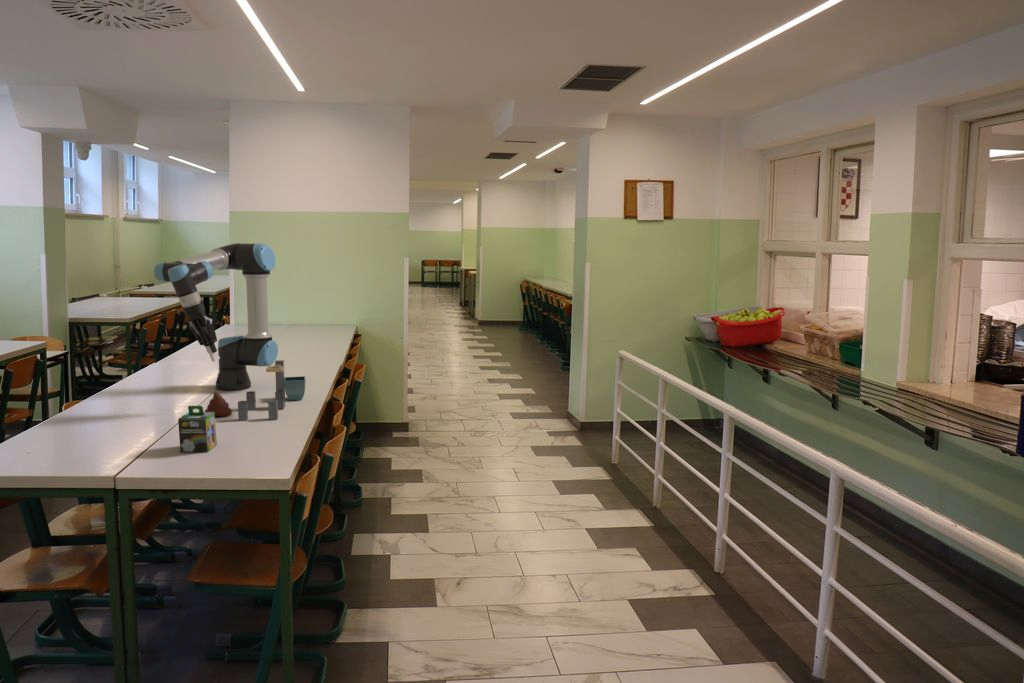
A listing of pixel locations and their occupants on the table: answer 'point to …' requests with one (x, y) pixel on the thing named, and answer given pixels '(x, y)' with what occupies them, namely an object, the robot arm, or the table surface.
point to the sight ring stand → (278, 375)
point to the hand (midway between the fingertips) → (216, 360)
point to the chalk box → (197, 430)
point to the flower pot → (295, 387)
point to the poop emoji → (219, 406)
